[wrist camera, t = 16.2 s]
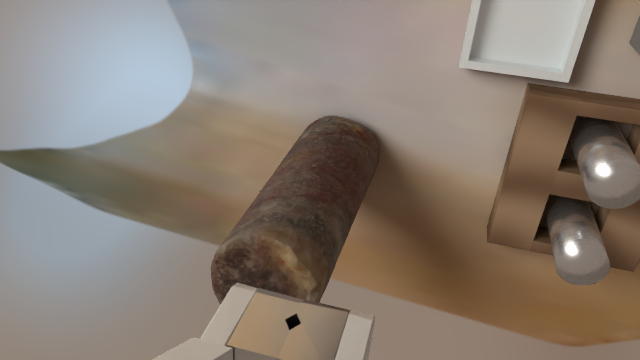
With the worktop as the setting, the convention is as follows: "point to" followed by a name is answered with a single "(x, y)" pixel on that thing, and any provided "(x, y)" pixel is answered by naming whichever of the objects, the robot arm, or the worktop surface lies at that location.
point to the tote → (525, 37)
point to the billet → (605, 163)
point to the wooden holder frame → (560, 173)
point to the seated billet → (576, 241)
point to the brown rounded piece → (301, 214)
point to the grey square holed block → (636, 37)
